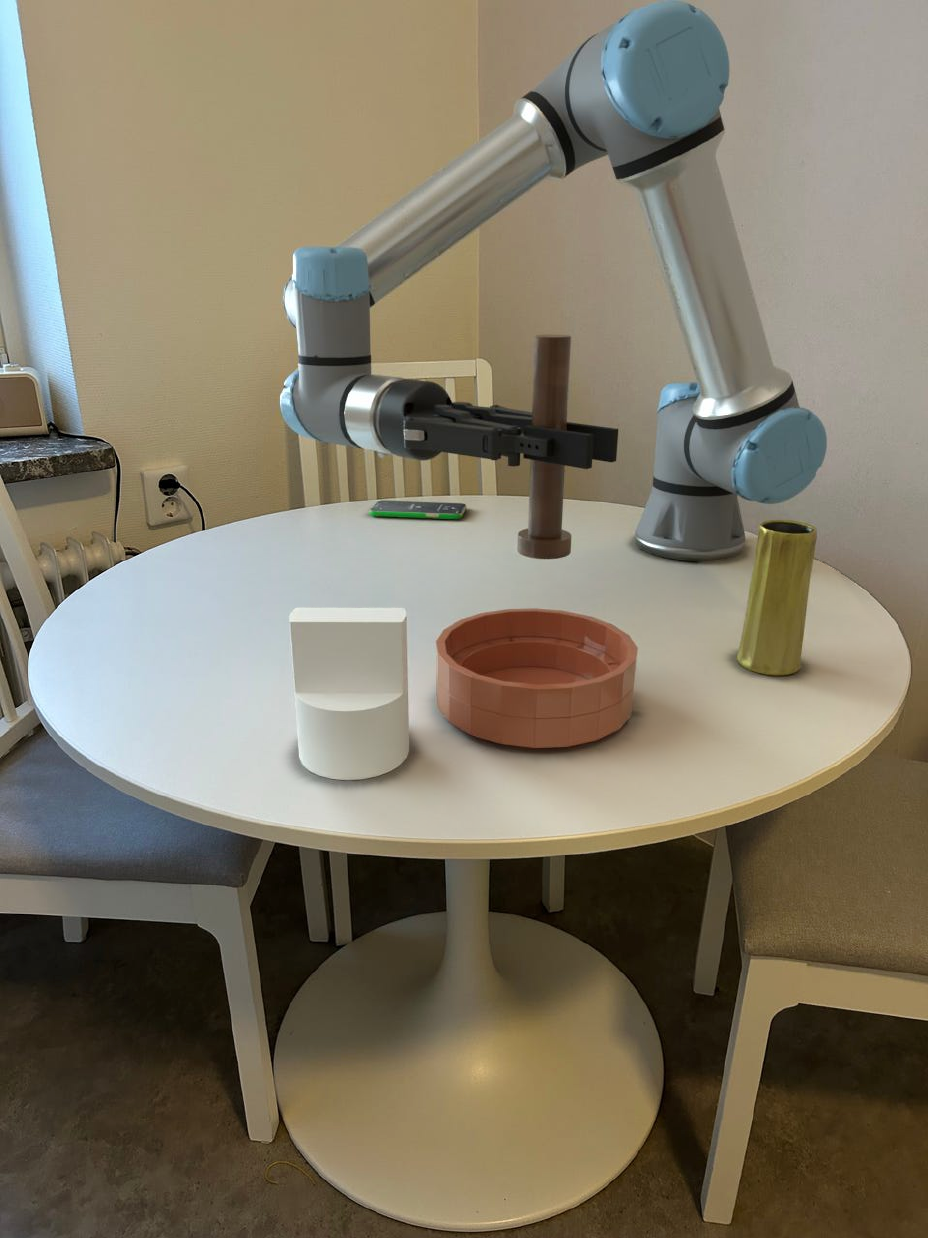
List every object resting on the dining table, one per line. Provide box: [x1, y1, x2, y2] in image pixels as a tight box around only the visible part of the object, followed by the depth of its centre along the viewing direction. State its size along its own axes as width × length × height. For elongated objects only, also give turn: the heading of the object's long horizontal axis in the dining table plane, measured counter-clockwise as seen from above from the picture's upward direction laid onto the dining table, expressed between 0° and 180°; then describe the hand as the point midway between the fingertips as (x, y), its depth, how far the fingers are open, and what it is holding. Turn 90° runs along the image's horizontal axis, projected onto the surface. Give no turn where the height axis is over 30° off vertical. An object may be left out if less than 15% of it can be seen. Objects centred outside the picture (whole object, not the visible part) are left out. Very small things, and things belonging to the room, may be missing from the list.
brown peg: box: [516, 334, 572, 560], centre depth 76 cm, size 5×5×19 cm
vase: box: [736, 519, 818, 677], centre depth 85 cm, size 6×6×14 cm
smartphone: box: [368, 499, 467, 520], centre depth 142 cm, size 8×1×15 cm
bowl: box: [435, 607, 638, 749], centre depth 78 cm, size 18×18×6 cm
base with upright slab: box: [288, 607, 410, 781], centre depth 70 cm, size 9×9×12 cm
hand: (602, 448), depth 72 cm, fingers closed on brown peg, 3 cm apart
